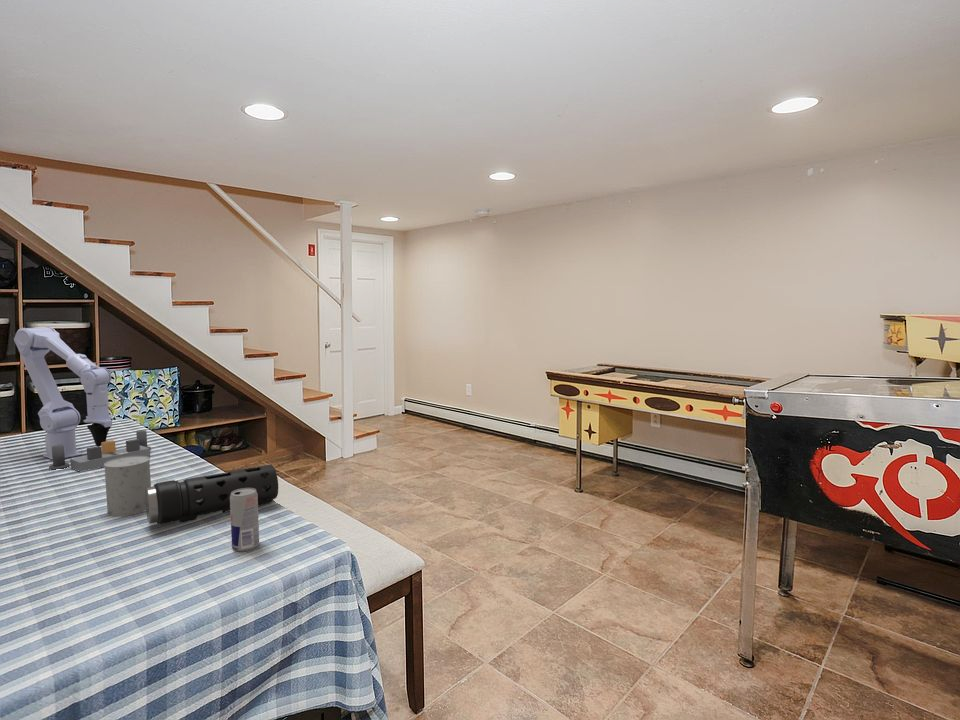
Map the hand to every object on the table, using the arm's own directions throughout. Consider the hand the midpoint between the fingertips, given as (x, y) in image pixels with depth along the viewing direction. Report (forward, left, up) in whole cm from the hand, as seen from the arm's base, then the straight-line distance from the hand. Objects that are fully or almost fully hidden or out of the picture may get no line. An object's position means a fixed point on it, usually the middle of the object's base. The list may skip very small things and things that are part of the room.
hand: (100, 445), depth 175 cm
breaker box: (+8, 0, -4) cm, 9 cm away
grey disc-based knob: (+1, -12, -4) cm, 13 cm away
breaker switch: (+6, 0, -1) cm, 6 cm away
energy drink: (+98, -11, -5) cm, 99 cm away
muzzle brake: (+76, -5, -5) cm, 77 cm away
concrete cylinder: (+55, -15, -5) cm, 58 cm away
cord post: (+1, +12, -4) cm, 13 cm away
